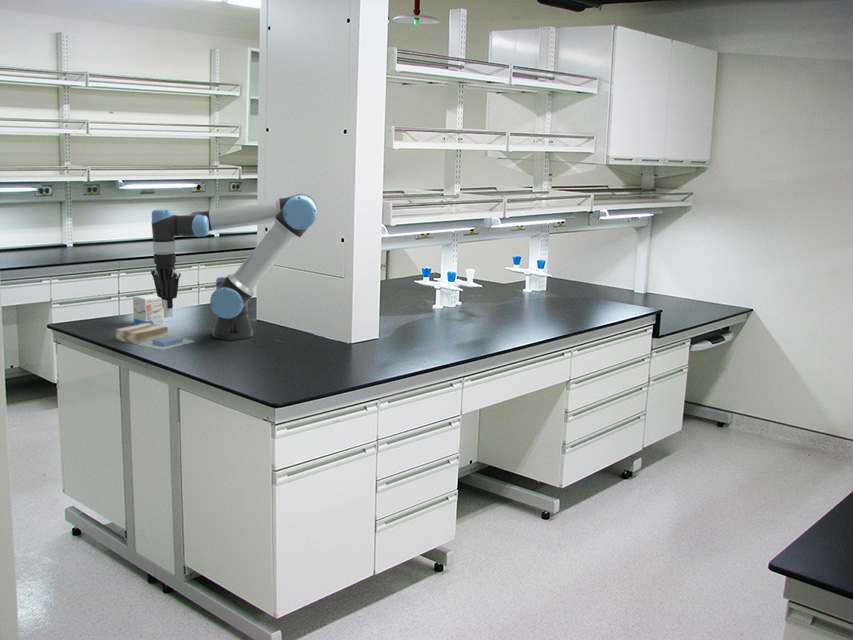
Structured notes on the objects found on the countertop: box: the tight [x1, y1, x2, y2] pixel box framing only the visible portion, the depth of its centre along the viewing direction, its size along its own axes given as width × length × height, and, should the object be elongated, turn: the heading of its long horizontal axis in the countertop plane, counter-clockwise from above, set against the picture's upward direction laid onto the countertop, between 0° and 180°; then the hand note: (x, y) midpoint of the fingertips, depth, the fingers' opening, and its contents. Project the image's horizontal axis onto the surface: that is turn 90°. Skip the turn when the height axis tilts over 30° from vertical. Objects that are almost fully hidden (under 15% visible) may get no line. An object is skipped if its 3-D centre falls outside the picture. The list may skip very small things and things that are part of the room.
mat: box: [137, 338, 195, 351], centre depth 298 cm, size 12×16×1 cm
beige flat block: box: [115, 323, 169, 345], centre depth 304 cm, size 12×14×4 cm
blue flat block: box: [152, 335, 184, 347], centre depth 298 cm, size 6×9×2 cm, turn 150°
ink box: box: [132, 293, 164, 326], centre depth 327 cm, size 9×8×12 cm
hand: (168, 316), depth 296 cm, fingers closed
